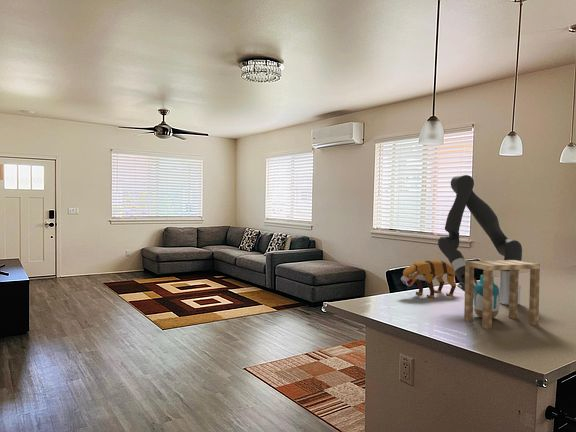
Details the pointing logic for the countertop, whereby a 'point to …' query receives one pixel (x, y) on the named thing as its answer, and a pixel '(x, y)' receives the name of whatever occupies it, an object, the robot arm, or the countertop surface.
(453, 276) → the toy
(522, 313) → the countertop surface
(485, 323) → the riser shelf
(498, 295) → the vase
